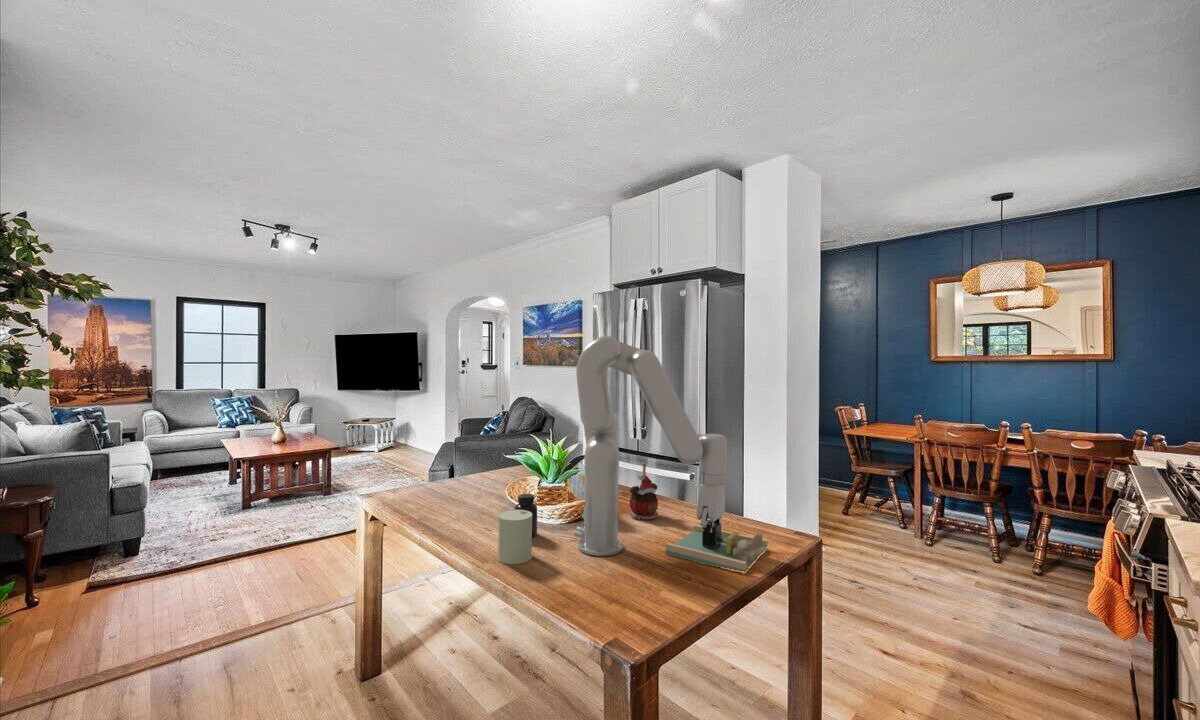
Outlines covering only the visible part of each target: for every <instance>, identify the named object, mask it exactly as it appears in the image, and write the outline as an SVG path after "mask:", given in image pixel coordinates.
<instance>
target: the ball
mask: <svg viewBox="0 0 1200 720" xmlns="http://www.w3.org/2000/svg"><path fill="white" fill-rule="evenodd" d="M747 543H748V542H747V541H745V540H741V541H739V542H738V543H737V546H736V547H737V549H742V550H746V551H747Z"/></svg>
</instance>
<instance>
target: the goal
mask: <svg viewBox="0 0 1200 720" xmlns="http://www.w3.org/2000/svg"><path fill="white" fill-rule="evenodd" d="M752 537H753V538H752V539H751V540H746V539H744V540H745V541H747V542H748V543H747V551H746V550H742V549H737V548H734V549H733V558H734V559H738V560H742V561H746V562H750V563H752V562H753V561H754V560H755V559H756V557H757V556H758V555H759V554H760V553H761V552H762V539H763V533H757V534H756V535H754V536H752Z"/></svg>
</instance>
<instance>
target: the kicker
mask: <svg viewBox="0 0 1200 720" xmlns="http://www.w3.org/2000/svg"><path fill="white" fill-rule="evenodd" d="M707 524H709V525H710V524H711V523H707ZM721 530H722V522H721V523H716V522H714V528H713V532H715V533H714V547H710V546H706V545H703V531H702V546H705V547H709V548H713V549H717V548H718V547H719V546H720V545H721V542H722V543H726V553H727V554H731V553H733V549H734V548H737V547H736V546H737V543H738V542H739V534H740V533H739V531H733V533H732V534H731V535H729V536H728V537H727V538H726V539H725V538H721Z"/></svg>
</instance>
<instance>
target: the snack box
mask: <svg viewBox="0 0 1200 720" xmlns="http://www.w3.org/2000/svg"><path fill="white" fill-rule="evenodd" d="M578 463H579V465H578V466H577V467H578V468H582V469H581V471H580V472H578V473H577V474H576V475H573V476H571V477H570V478H569V479H568V481H566V486H567V485H568V487H569V489H570V492H571V493H572V494H573V495H574V496H575V497H577V498H580V499H583V500H585V464H582V463H581V462H578ZM569 464H570V463H568V464H567V466H568V465H569ZM583 469H584V470H583ZM584 509H585V507H584ZM581 518H582V519H583V520H584V511H583V514H582V517H581Z"/></svg>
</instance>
